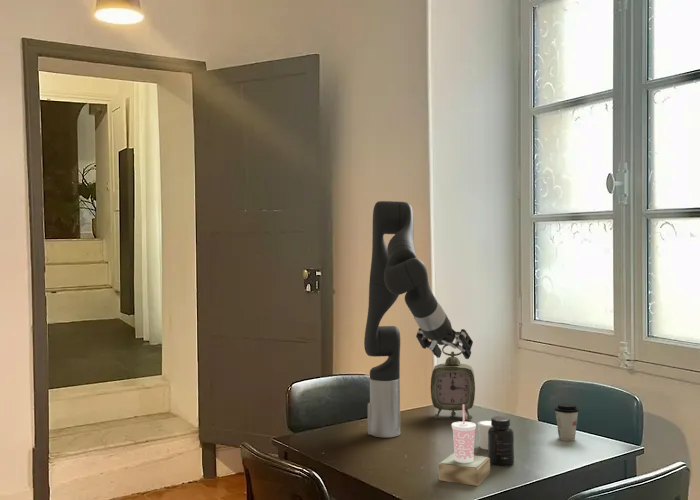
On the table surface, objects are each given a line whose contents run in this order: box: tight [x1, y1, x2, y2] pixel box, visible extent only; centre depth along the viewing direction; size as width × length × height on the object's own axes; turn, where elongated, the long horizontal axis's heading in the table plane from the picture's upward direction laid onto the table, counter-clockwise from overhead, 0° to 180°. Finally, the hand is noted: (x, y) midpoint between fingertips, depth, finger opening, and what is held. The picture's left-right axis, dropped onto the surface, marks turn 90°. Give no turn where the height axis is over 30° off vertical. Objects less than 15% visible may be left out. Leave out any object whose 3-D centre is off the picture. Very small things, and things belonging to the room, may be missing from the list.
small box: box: [438, 452, 491, 487], centre depth 182 cm, size 10×10×4 cm
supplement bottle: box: [487, 415, 515, 467], centre depth 193 cm, size 7×7×12 cm
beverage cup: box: [451, 404, 477, 463], centre depth 182 cm, size 6×6×14 cm
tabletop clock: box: [430, 342, 476, 421], centre depth 242 cm, size 14×9×25 cm, turn 81°
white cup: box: [477, 419, 492, 451], centre depth 208 cm, size 7×7×7 cm
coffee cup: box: [553, 402, 580, 442], centre depth 216 cm, size 7×7×10 cm
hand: (453, 355), depth 195 cm, fingers open, 8 cm apart
